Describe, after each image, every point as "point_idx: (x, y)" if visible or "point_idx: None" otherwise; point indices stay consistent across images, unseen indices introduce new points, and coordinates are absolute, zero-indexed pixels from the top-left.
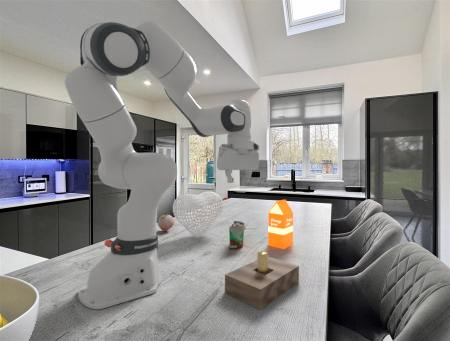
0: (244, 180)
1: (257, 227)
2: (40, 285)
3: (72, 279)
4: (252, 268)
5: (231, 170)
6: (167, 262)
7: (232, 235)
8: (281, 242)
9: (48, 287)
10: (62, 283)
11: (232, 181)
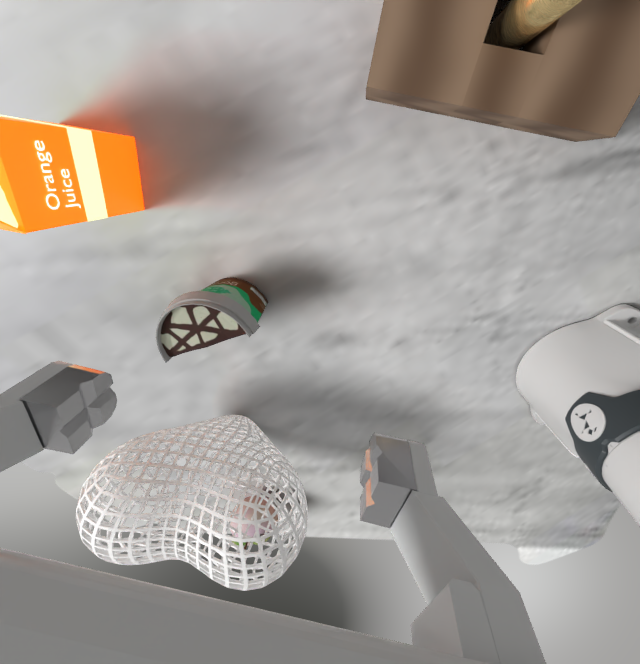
0: (106, 414)
1: (23, 328)
2: None
3: None
4: (525, 66)
5: (472, 656)
6: (441, 383)
7: (251, 312)
8: (119, 145)
9: None
10: None
11: (397, 446)
